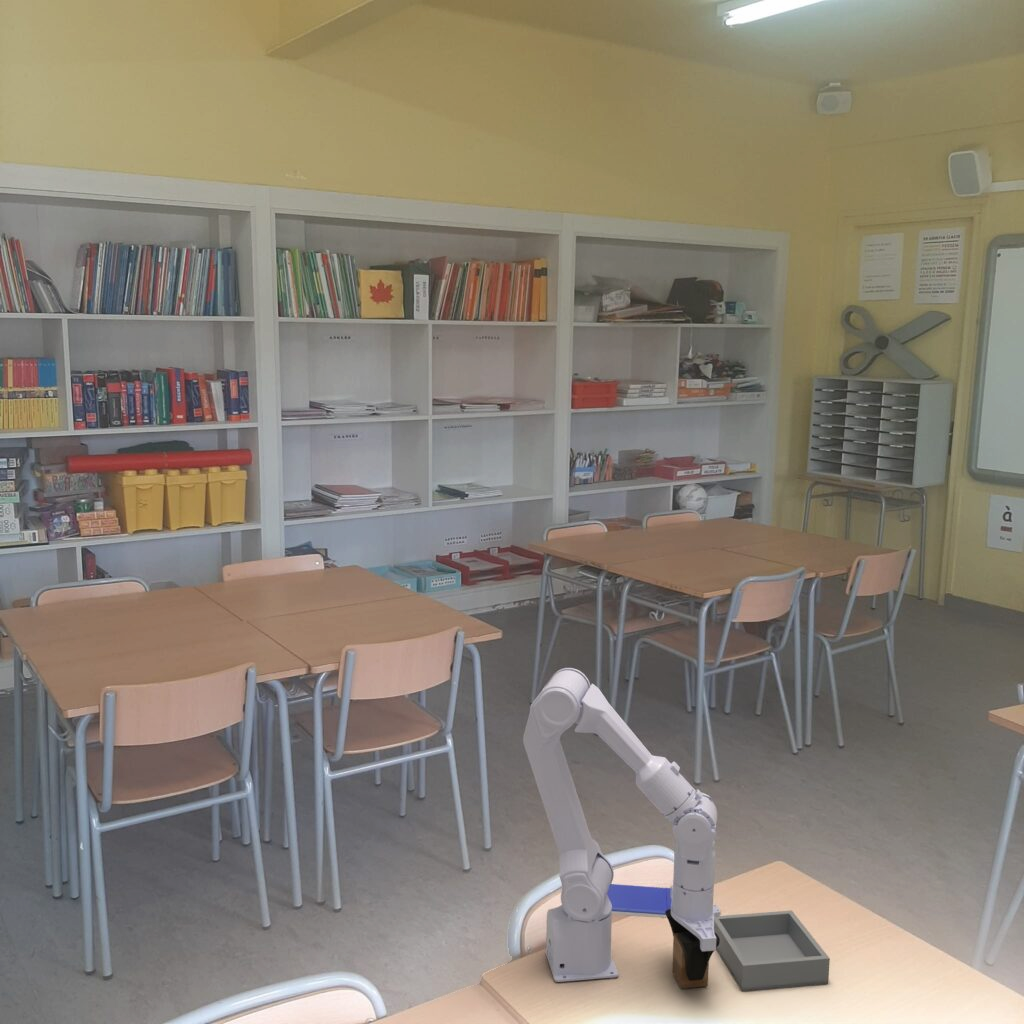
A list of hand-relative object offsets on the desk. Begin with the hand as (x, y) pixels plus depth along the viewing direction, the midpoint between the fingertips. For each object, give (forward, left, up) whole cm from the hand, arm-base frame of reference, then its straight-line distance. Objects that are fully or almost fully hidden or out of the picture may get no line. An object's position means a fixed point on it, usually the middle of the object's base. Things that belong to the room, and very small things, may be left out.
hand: (690, 969), depth 146 cm
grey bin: (+13, +3, -2) cm, 13 cm away
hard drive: (-2, +22, -3) cm, 22 cm away
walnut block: (0, 0, -1) cm, 1 cm away
